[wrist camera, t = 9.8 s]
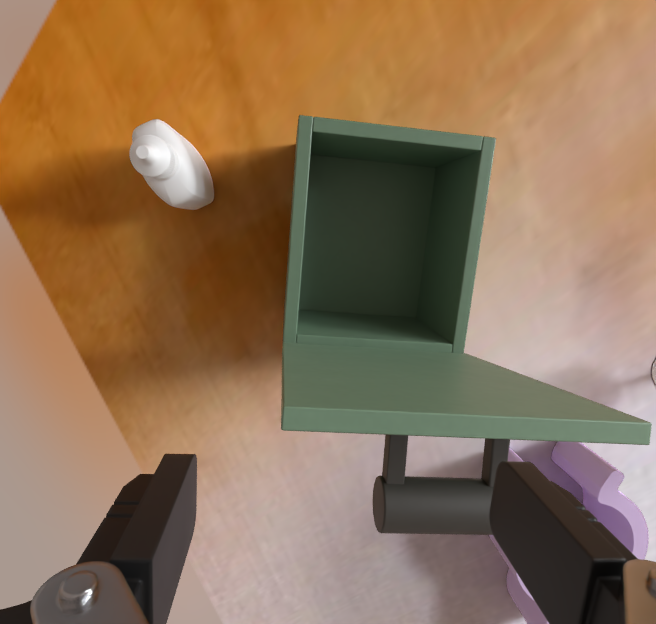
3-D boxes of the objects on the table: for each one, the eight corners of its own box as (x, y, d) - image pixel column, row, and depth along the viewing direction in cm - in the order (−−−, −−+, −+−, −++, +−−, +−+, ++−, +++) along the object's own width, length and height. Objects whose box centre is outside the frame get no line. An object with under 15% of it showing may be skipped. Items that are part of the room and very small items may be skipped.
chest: (295, 143, 37) (298, 114, 27) (443, 159, 38) (496, 137, 28) (283, 316, 40) (282, 346, 30) (421, 325, 41) (463, 357, 31)
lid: (282, 406, 14) (271, 564, 14) (652, 422, 15) (636, 567, 16) (282, 342, 29) (277, 418, 30) (466, 353, 31) (459, 426, 31)
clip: (598, 591, 49) (648, 651, 42) (490, 615, 48) (523, 679, 41) (593, 427, 45) (648, 464, 38) (475, 450, 44) (509, 492, 37)
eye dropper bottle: (161, 207, 37) (102, 199, 25) (162, 136, 36) (101, 93, 24) (214, 212, 37) (181, 206, 26) (217, 142, 36) (183, 103, 24)
